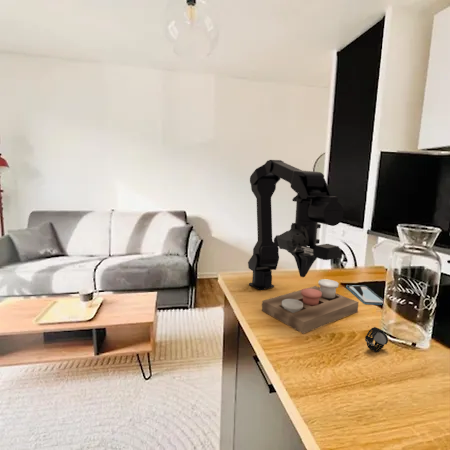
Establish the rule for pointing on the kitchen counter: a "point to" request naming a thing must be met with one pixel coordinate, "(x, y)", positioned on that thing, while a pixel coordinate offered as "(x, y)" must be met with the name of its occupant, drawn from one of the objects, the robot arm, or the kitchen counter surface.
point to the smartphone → (365, 294)
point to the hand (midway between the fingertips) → (302, 276)
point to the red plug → (311, 296)
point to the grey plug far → (328, 288)
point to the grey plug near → (292, 305)
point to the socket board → (310, 310)
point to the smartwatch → (376, 339)
